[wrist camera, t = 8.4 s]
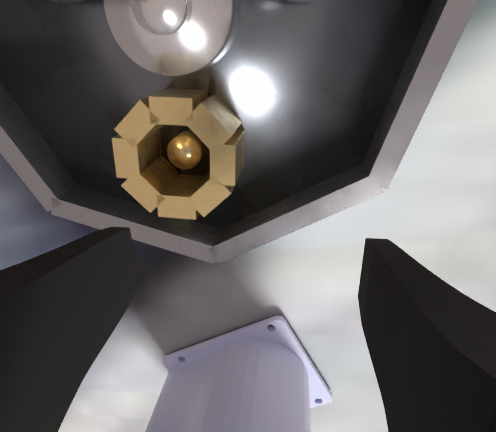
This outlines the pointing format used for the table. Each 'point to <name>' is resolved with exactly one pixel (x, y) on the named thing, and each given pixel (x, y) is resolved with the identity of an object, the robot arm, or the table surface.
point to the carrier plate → (231, 93)
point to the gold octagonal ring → (160, 170)
